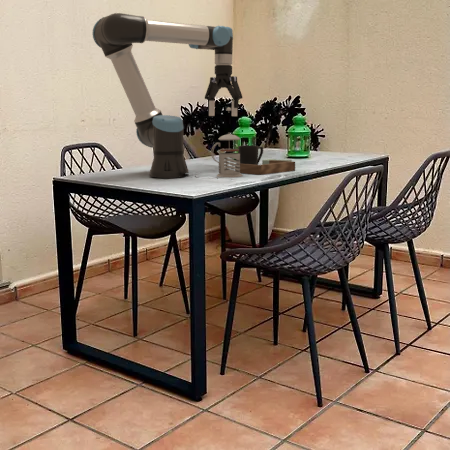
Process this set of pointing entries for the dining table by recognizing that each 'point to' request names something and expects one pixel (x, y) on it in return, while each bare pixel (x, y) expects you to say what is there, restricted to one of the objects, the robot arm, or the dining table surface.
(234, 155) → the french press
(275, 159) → the t block
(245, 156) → the mug
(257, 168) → the brown wooden tray
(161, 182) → the dining table surface
